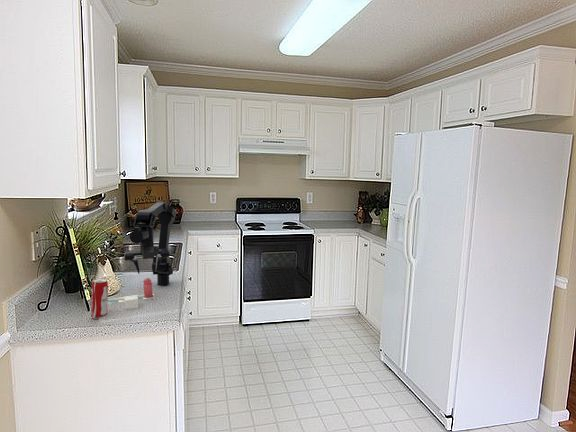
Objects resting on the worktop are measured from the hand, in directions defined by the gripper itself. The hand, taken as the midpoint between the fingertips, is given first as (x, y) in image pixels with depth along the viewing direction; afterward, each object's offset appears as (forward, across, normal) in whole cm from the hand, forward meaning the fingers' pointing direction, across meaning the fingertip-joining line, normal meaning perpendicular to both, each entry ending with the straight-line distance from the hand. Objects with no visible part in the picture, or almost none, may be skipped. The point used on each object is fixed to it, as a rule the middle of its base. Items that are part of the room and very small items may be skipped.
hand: (147, 272), depth 172 cm
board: (+12, -8, 0) cm, 14 cm away
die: (+12, -8, -10) cm, 17 cm away
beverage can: (+12, -20, -14) cm, 27 cm away
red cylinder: (+11, 0, 0) cm, 11 cm away
